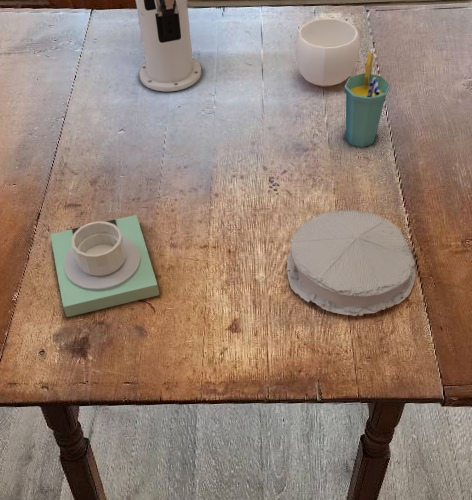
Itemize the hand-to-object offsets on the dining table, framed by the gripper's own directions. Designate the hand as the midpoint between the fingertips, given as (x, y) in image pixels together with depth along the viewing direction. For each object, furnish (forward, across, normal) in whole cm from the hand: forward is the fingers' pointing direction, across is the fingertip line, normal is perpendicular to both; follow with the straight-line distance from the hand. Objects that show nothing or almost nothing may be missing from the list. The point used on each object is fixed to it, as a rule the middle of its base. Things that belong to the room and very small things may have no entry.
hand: (162, 23), depth 99 cm
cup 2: (+26, +3, +33) cm, 42 cm away
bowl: (+23, +21, -17) cm, 36 cm away
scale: (+26, +20, -17) cm, 37 cm away
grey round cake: (+26, +32, +19) cm, 46 cm away
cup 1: (+26, -18, +34) cm, 47 cm away
